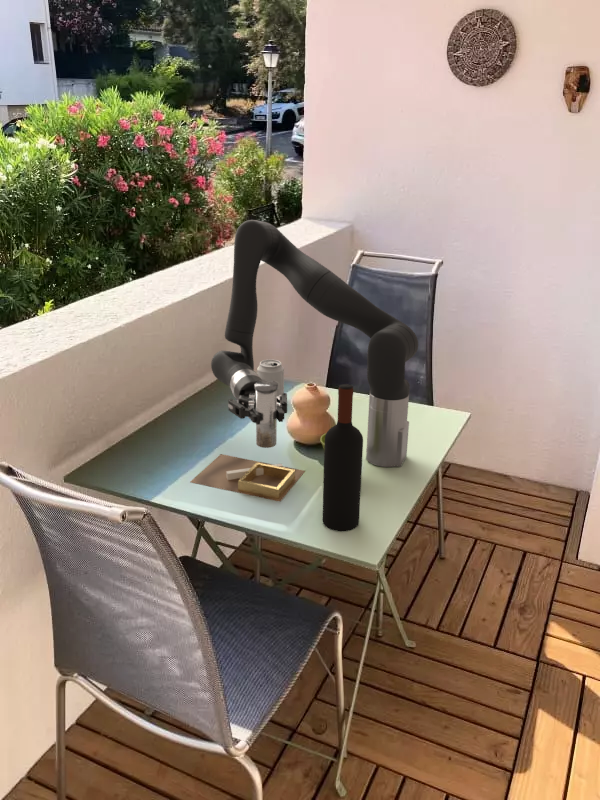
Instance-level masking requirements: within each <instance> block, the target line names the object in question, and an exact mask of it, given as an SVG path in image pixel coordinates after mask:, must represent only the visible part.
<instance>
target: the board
mask: <svg viewBox="0 0 600 800" xmlns="http://www.w3.org/2000/svg"><path fill="white" fill-rule="evenodd" d="M256 462H258V463H263V464H268V465H274V464H273V463H267V462H262V461H258V460H252V459H247V458H242V457H238V456H233V455H227V454H219V455H218V456H216V458H215V459H214V460H212V461H211V462H210V463H209V464H208V465H207V466H206V467H205V468H204V469H203V470H202V471H200V472H199V473H198V474H197V475H196V476H194V478H193V479H192V480H190V481H189V482H190V483H193V484H196V485H202V486H205V487H211V488H215V489H220V490H223V491H229V492H233V493H238V494H244V495H247V496H252V497H255V498H257V497H258V498H261V499H266V500H271V501H276V502H278V503H279V502H282V500H283V499H284V498H285V496H286V495H287V494H288V493H289V492H290V491H291V490H292V488H293V487H294V486H295V485H296V483H297V482H298V481H299V480H300V479H301V478H302V476H303V475H304V474H305V472H306V470H303V469H297V468H293V467H288V466H284V465H283V468H288V469H293V470H295V480H294V481H293V483H292V484H291V485H290V486H289V487H288V489H287V490H286V491H285V492H284V493H283V495H282V496H281V497H280V498H279V499H275V498H270V497H265V496H261V495H256V494H251V493H247V492H242V491H238V481H239V480H240V479H241V478H238V479H231V480H228V479H227V475H226V471H232V470H239V469H246V468H251V467H252V466H253V465H254V464H255V463H256ZM282 480H283V479H282V478H277V477H272V476H267V475H259V476H256V477H255V478H254V479H253V480H252V481H251V482H254V483H259V484H264V485H269V486H273V487H277V486H278V485H279V484H280V483H281V481H282Z"/></svg>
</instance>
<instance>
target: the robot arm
mask: <svg viewBox="0 0 600 800" xmlns="http://www.w3.org/2000/svg"><path fill="white" fill-rule="evenodd" d="M233 249H234V250H233V269H232V270H233V271H232V272H233V273H232V289H231V294H230V295H231V296H230V297H231V298H230V304H229V309H228V314H227V320H226V326H225V329H224V338H225V340H226V341H227V342H230V343H232V344H235V345H238V346H239V348H240V352H239V351H238V352H237V351H231V350H219V351H217V352H216V353H215V354H214V355H213V357H212V358H211V363H210V367H211V368H210V369H211V371H212V372H211V373H212V374H213V376H214V377H215V378H216V379H217V380H218V381H220V382H221V383H223V385H224V384H225V385H226V386H228V387H229V388H230V390H231V393H232V395H233V397H234V398H235V399H233V398H228V401H227V403H228V404H227V407H228V411H229V412H230V413H232V414H233V415H235V416H236V417H238V418H239V419H241V420H242V419H243V420H244V419H245V418H246V417H247V418H248V419H249V420H250V421H251V423H253V424H255V426H256V425H259V424H260V415H259V413H258V412H257V411H256V390H255V389H254V384H255V383H256V382H258V381H261V380H262V379H261V377H260V376H259V375H258V374H257V372H256V371H255V364H254V363H255V362H254V352H253V348H254V347H253V342H254V341H253V340H254V332H255V328H256V322H257V317H258V297H257V276H258V271H259V268H260V264H261V262H263V263H265V264H267V265H269V266H271V267H272V268H273V269H275V270H276V271H277V272H279V273H280V274H281V275H283V276H284V277H285V278H286V279H287V280H288V282H289V283H290V285H291V286H292V288H293V289H294V290H295V291H296V293H298V295H299V296H300V297H301V298H302V299H303V300H304V301H305V302H306V303H307V304H309V305H310V306H311V307H313V308H314V310H316V311H317V312H319V313H320V314H322V315H323V316H325V317H327V318H329V319H331V320H333V321H337V322H338V323H342V324H344V325H347V326H350V327H352V328H355V329H357V330H359V331H361V332H362V333H363V334H365V335H366V336H367V337H369V338H370V339H369V342H368V346H367V353H366V354H367V357H366V358H367V361H366V362H367V363H366V364H367V365H366V366H367V367H366V370H367V371H366V373H367V375H366V377H367V383H368V385H369V399H368V417H367V435H366V436H367V437H366V454H365V455H366V456H365V459H366V461H368V463H370V464H372V465H375V466H377V467H383V468H392V467H393V468H394V467H398V468H401V467H402V465H403V463H404V462H405V461H406V458H407V455H408V442H409V428H410V427H409V426H410V421H408V415H409V414H408V413H409V412H408V411H409V403H410V402H409V401H410V400H409V399H410V389H411V388H410V386H411V385H410V383H409V381H408V380H407V379H406V377H405V376H406V375H405V373H406V362H408V361H410V360H411V358H413V357H414V356H415V355H416V354H417V352H418V349H419V341H418V337H417V335H416V334H415V332H414V330H413V329H412V328H410V327H409V325H407V324H405V323H404V322H403V321H401V320H399V319H398V318H395V317H394V316H392V315H391V314H390V313H388V312H387V311H384V310H382V309H381V308H379V307H378V306H376V305H375V304H373V302H371V300H369V299H368V298H366V297H365V296H364V295H362V294H361V293H360V292H358V291H357V290H356V289H354V288H353V287H352V286H350V285H349V284H348V283H347V282H346V281H345V280H343V278H341V277H339V276H338V275H336V274H335V273H334V272H333V271H332V270H330V269H329V268H327V267H325V266H324V265H323V264H321V263H320V262H319V261H317V260H315V259H314V258H312V257H311V256H309V255H307V254H306V253H304V252H303V251H302V250H300V249H299V248H298V247H297V246H296V245H295V244H294V243H292V241H290V240H289V239H288V238H287V237H286V235H284V234H283V233H282V232H281V231H280V230H279V229H278V228H277V227H276V226H274V225H273V224H271V223H269V222H266V221H261V220H257V219H248V220H246V221H243V222H241V224H240V225H239V226H238V227H237V229H236V231H235V236H234V244H233ZM279 403H280V404H279ZM287 413H288V394H287V393H286V392H284V393H282V396H281V395H280V396H277V421H278V422H279V423H282V422H283V420H285V415H286V414H287Z"/></svg>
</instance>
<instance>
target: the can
mask: <svg viewBox="0 0 600 800" xmlns="http://www.w3.org/2000/svg"><path fill="white" fill-rule="evenodd" d="M282 364H283V363H282V362H281V361H280V360H278V359H272V358H270V359H269V358H268V359H263V360H261V361H260V362H259V365H258V367H257V368H256V369H257V372H256V373H257V374H258V375H259V376H260V377H261V379H262V380H271V381H275V382H277V383H278V390H277V396H280V395H281V396H282V393H285V367H284V366H283V365H282Z"/></svg>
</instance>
